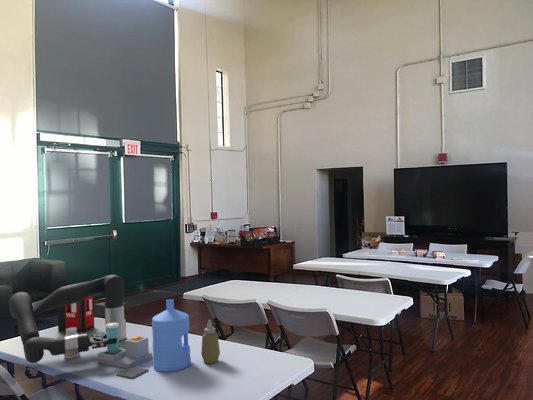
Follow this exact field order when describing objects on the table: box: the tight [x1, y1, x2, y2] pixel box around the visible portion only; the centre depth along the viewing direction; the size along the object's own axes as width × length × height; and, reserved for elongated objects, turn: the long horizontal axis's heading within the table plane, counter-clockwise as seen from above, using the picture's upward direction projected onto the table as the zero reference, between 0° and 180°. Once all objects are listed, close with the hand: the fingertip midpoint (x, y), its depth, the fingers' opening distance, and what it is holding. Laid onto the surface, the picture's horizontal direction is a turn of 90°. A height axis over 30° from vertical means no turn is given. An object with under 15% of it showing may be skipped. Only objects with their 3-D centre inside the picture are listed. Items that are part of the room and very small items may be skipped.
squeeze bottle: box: [200, 319, 221, 365], centre depth 188 cm, size 8×8×18 cm
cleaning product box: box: [57, 295, 95, 333], centre depth 246 cm, size 16×9×20 cm, turn 81°
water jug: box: [151, 298, 192, 373], centre depth 185 cm, size 16×16×28 cm
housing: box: [96, 336, 153, 369], centre depth 194 cm, size 14×19×9 cm
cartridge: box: [105, 323, 120, 355], centre depth 194 cm, size 5×5×14 cm
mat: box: [115, 366, 149, 380], centre depth 179 cm, size 9×9×1 cm
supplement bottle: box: [63, 327, 81, 359], centre depth 202 cm, size 7×7×13 cm
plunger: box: [132, 335, 142, 341], centre depth 195 cm, size 4×4×5 cm
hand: (116, 337), depth 195 cm, fingers open, 8 cm apart
